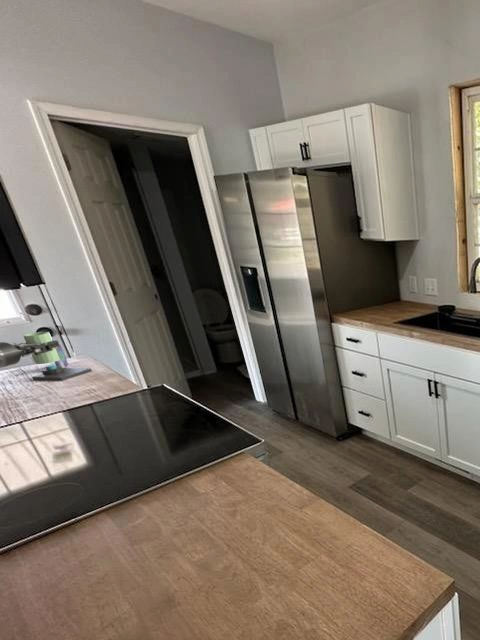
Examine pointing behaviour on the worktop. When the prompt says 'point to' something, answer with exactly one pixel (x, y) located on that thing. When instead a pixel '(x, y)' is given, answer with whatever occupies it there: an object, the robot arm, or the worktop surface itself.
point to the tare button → (51, 367)
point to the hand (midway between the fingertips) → (48, 343)
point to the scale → (61, 373)
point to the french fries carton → (61, 358)
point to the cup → (39, 338)
